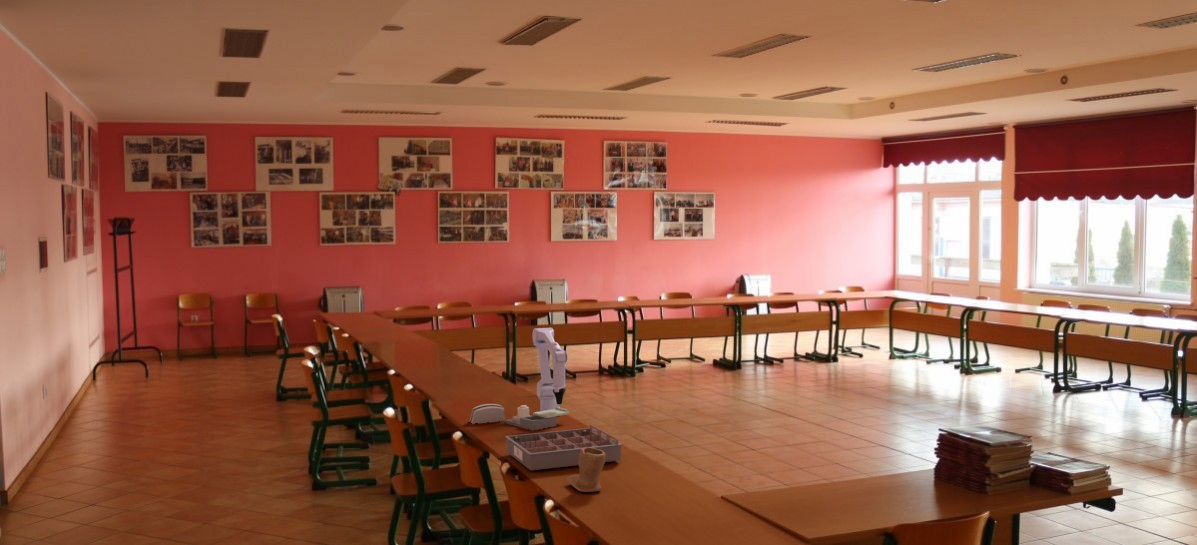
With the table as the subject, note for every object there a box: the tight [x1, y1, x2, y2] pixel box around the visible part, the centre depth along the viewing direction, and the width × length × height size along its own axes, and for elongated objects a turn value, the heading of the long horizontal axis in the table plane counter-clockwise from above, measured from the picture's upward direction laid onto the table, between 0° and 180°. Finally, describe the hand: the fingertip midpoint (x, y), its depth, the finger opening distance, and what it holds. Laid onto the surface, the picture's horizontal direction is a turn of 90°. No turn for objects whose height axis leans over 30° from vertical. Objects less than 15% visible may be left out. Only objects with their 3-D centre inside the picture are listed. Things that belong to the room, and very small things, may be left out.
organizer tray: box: [504, 423, 623, 471], centre depth 387 cm, size 32×40×10 cm
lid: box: [532, 407, 570, 419], centre depth 450 cm, size 14×10×2 cm
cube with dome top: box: [517, 404, 530, 418], centre depth 453 cm, size 4×4×7 cm
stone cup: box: [566, 447, 606, 493], centre depth 345 cm, size 15×12×15 cm
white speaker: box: [469, 403, 505, 425], centre depth 455 cm, size 17×5×10 cm, turn 113°
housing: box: [504, 414, 557, 432], centre depth 449 cm, size 14×22×4 cm, turn 42°
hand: (559, 404), depth 452 cm, fingers closed
